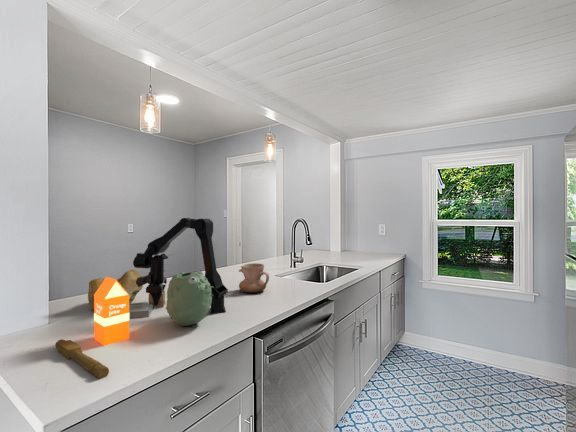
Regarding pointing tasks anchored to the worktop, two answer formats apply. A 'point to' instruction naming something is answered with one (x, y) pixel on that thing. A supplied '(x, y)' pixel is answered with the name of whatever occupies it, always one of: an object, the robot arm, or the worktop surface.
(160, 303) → the cube
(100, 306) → the orange juice
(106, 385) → the worktop surface
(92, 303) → the rough brown rock
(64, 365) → the worktop surface
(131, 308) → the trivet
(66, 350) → the tap handle
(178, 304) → the green bumpy vase
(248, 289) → the ceramic jug
